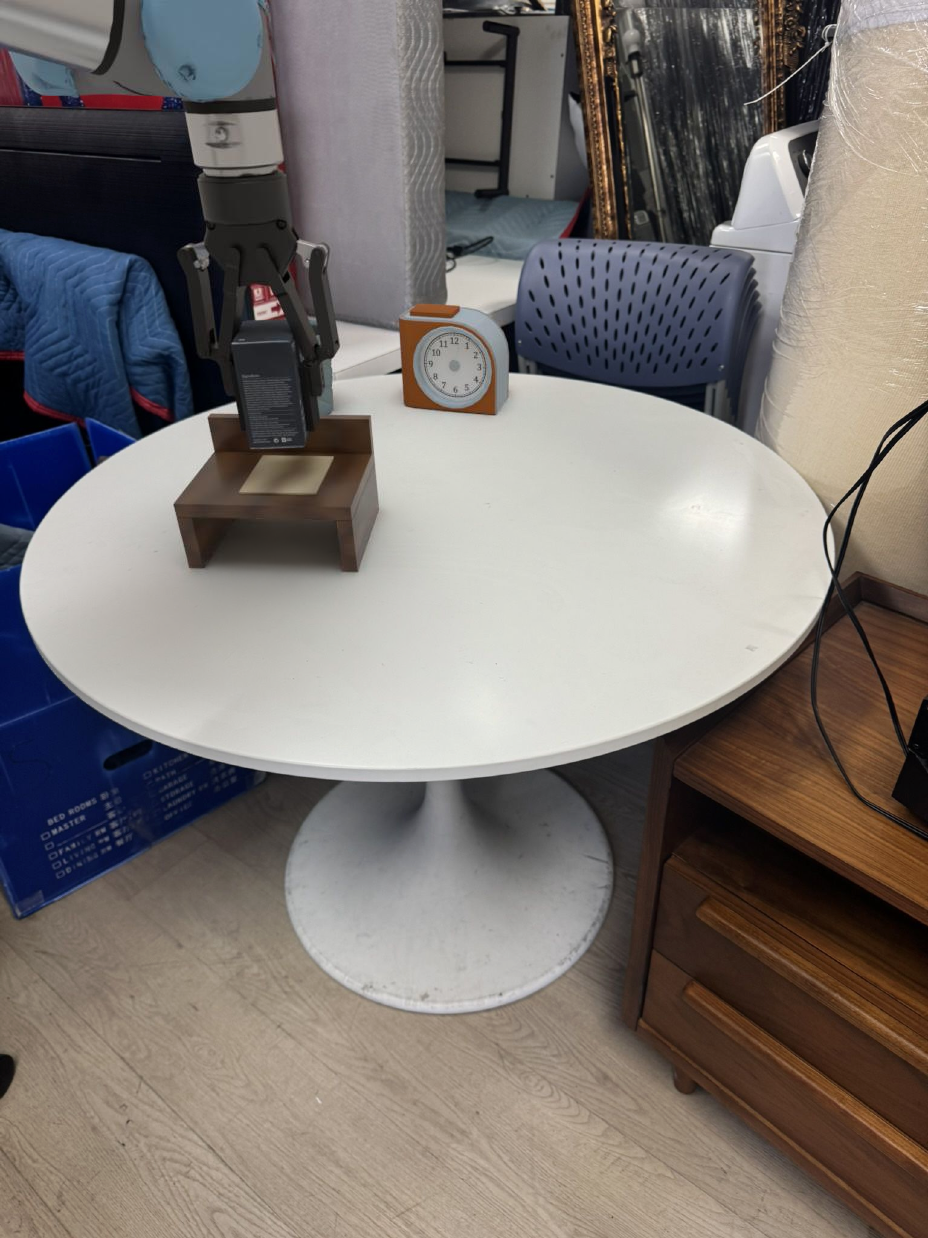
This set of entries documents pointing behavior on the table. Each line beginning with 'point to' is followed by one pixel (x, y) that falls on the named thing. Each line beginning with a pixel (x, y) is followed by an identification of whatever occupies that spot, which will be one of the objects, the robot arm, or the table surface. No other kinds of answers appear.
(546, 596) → the table surface
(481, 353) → the alarm clock
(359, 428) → the shelf
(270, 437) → the box
